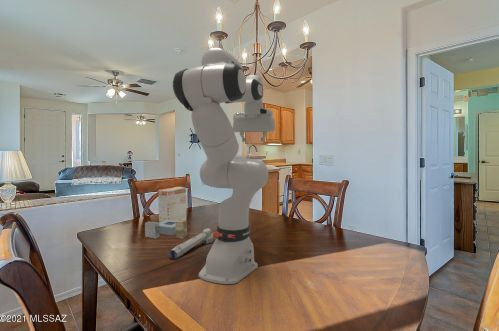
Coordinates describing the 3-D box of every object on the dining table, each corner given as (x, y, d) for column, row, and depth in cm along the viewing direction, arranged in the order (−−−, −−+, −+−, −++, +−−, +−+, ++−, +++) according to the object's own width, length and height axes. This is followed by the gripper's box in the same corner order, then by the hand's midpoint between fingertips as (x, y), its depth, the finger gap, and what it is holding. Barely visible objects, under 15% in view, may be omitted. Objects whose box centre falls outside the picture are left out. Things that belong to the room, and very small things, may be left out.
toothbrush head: (166, 248, 104) (206, 224, 126) (168, 264, 106) (207, 237, 127) (176, 251, 102) (215, 226, 123) (178, 267, 103) (216, 239, 125)
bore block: (172, 235, 132) (172, 227, 131) (152, 232, 136) (152, 225, 135) (186, 228, 143) (186, 221, 142) (167, 226, 147) (167, 219, 147)
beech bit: (182, 238, 127) (182, 222, 127) (175, 237, 129) (175, 221, 128) (186, 236, 131) (186, 220, 130) (180, 235, 132) (180, 219, 132)
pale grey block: (155, 238, 127) (155, 224, 127) (145, 237, 129) (144, 222, 129) (159, 236, 130) (159, 222, 130) (149, 235, 132) (149, 221, 132)
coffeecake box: (179, 217, 166) (178, 186, 165) (187, 219, 162) (186, 187, 160) (158, 223, 154) (157, 189, 153) (166, 225, 150) (165, 190, 148)
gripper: (230, 112, 126) (230, 141, 127) (272, 110, 119) (272, 141, 120) (235, 113, 132) (235, 142, 133) (276, 111, 125) (275, 141, 125)
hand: (253, 141), depth 126 cm, fingers open, 8 cm apart
